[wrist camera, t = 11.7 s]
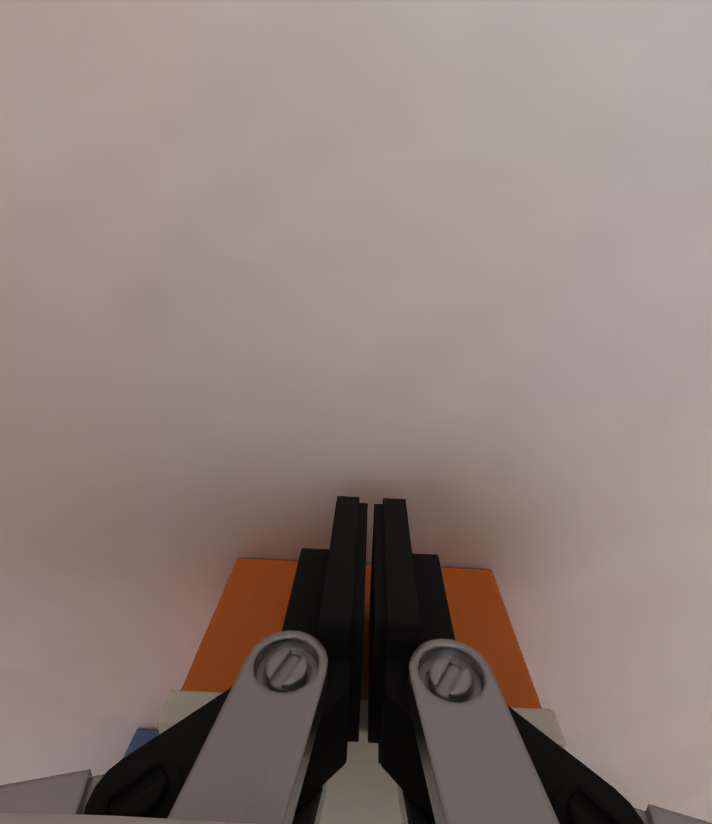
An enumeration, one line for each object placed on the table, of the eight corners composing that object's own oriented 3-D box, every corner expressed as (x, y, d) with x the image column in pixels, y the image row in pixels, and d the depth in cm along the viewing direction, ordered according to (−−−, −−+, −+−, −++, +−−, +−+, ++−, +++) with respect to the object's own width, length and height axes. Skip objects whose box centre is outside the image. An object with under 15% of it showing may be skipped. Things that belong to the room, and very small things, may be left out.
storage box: (231, 552, 14) (155, 720, 9) (497, 564, 13) (567, 742, 9) (249, 783, 17) (201, 992, 12) (460, 795, 17) (494, 1012, 12)
